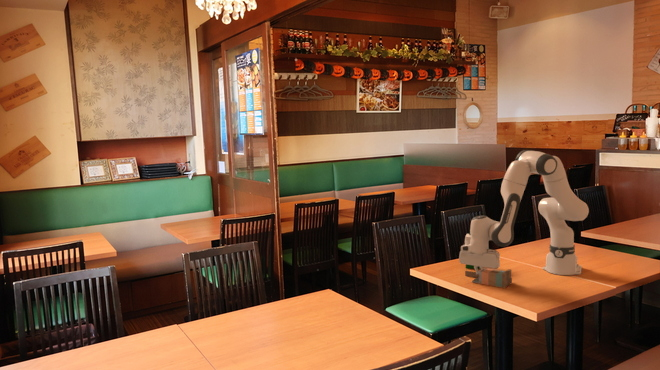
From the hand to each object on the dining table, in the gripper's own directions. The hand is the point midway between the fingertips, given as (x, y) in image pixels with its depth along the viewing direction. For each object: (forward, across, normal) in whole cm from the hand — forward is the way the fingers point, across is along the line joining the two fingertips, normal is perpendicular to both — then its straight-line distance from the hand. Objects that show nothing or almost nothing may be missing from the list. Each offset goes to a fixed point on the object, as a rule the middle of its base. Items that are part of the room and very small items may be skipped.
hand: (478, 274), depth 257 cm
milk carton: (+3, +12, -22) cm, 25 cm away
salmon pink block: (+3, -5, 0) cm, 6 cm away
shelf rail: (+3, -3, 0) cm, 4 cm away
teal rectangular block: (+3, -12, 0) cm, 12 cm away
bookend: (+3, -1, 0) cm, 3 cm away
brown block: (+3, -8, 0) cm, 9 cm away
